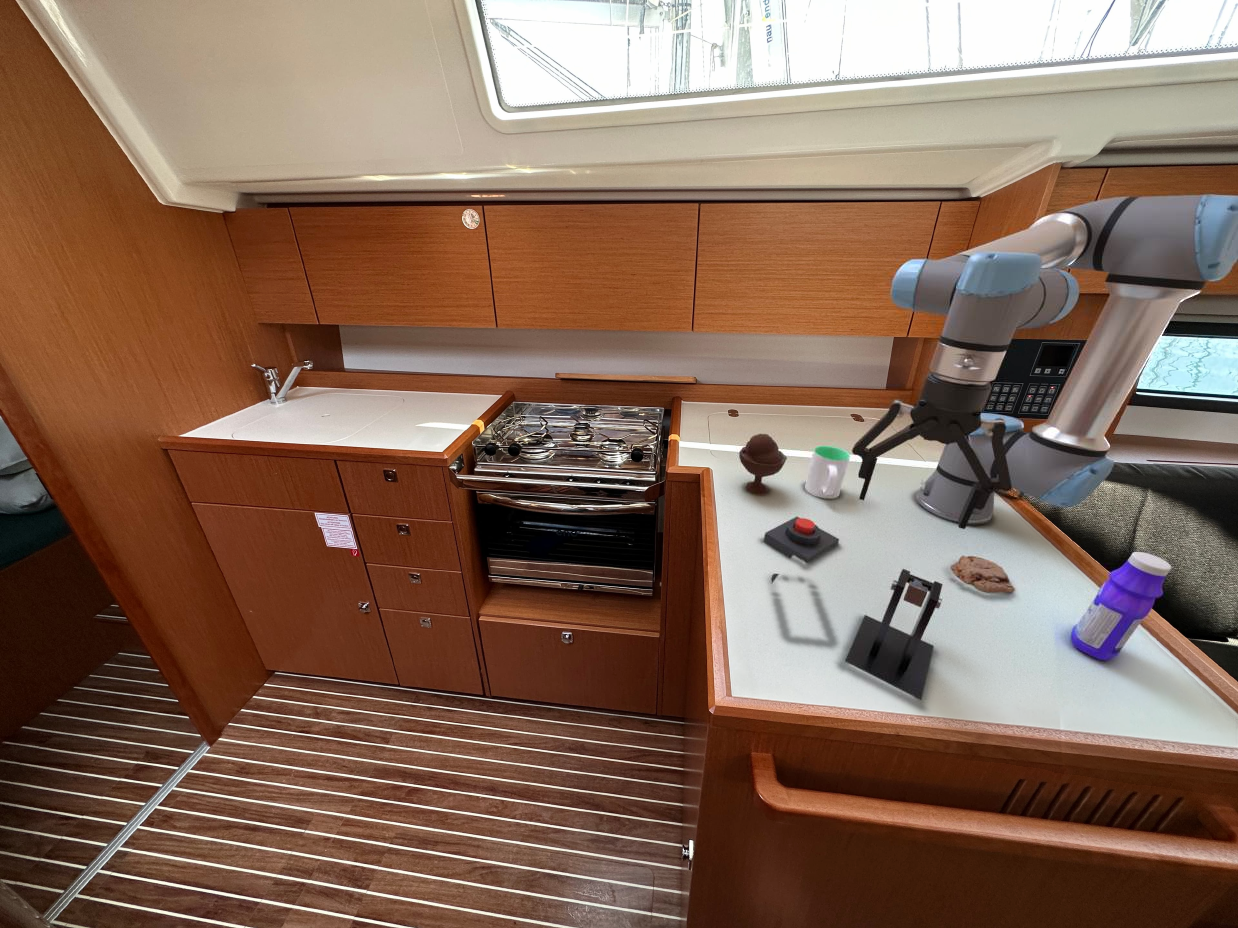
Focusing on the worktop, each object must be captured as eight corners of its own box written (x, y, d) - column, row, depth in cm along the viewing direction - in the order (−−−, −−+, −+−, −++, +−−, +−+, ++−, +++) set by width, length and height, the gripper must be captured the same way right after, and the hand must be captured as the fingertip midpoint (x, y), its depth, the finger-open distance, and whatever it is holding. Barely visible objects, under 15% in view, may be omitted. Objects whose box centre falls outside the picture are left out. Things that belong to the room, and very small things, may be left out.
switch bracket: (862, 620, 79) (889, 549, 72) (931, 651, 73) (966, 577, 66) (842, 666, 70) (870, 590, 63) (918, 705, 65) (957, 627, 58)
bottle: (1073, 624, 79) (1128, 541, 71) (1119, 646, 75) (1182, 560, 67) (1063, 645, 75) (1120, 559, 67) (1110, 669, 71) (1177, 581, 63)
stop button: (801, 523, 97) (802, 516, 97) (816, 531, 95) (818, 524, 94) (790, 528, 95) (792, 521, 95) (806, 537, 93) (808, 530, 92)
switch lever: (897, 580, 76) (902, 567, 76) (932, 595, 73) (938, 581, 73) (892, 595, 66) (898, 579, 66) (932, 612, 63) (939, 596, 63)
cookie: (1002, 571, 91) (1009, 558, 90) (1017, 606, 83) (1024, 593, 81) (943, 556, 95) (949, 544, 94) (952, 588, 86) (958, 575, 85)
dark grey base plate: (794, 524, 103) (798, 509, 101) (836, 547, 96) (841, 531, 94) (763, 541, 97) (766, 525, 95) (805, 567, 90) (810, 550, 88)
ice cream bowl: (781, 502, 111) (794, 445, 104) (733, 496, 113) (743, 439, 106) (777, 481, 121) (789, 427, 114) (733, 476, 122) (742, 422, 116)
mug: (846, 509, 110) (858, 470, 105) (810, 504, 111) (820, 465, 106) (835, 484, 120) (845, 447, 116) (802, 480, 122) (811, 444, 117)
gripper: (856, 366, 66) (821, 495, 76) (1086, 404, 55) (1010, 550, 64) (863, 356, 72) (830, 477, 82) (1073, 388, 60) (1006, 525, 70)
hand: (909, 509), depth 73 cm, fingers open, 13 cm apart
